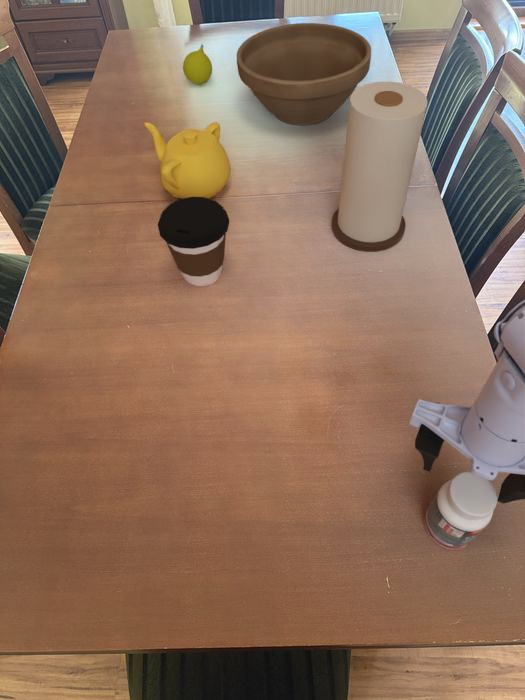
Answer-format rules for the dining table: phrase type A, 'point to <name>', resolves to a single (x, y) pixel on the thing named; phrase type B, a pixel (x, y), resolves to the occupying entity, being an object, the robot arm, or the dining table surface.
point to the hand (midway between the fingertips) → (465, 478)
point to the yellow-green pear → (197, 67)
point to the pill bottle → (460, 510)
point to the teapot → (192, 162)
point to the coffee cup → (196, 238)
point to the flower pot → (303, 69)
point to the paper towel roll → (378, 164)
